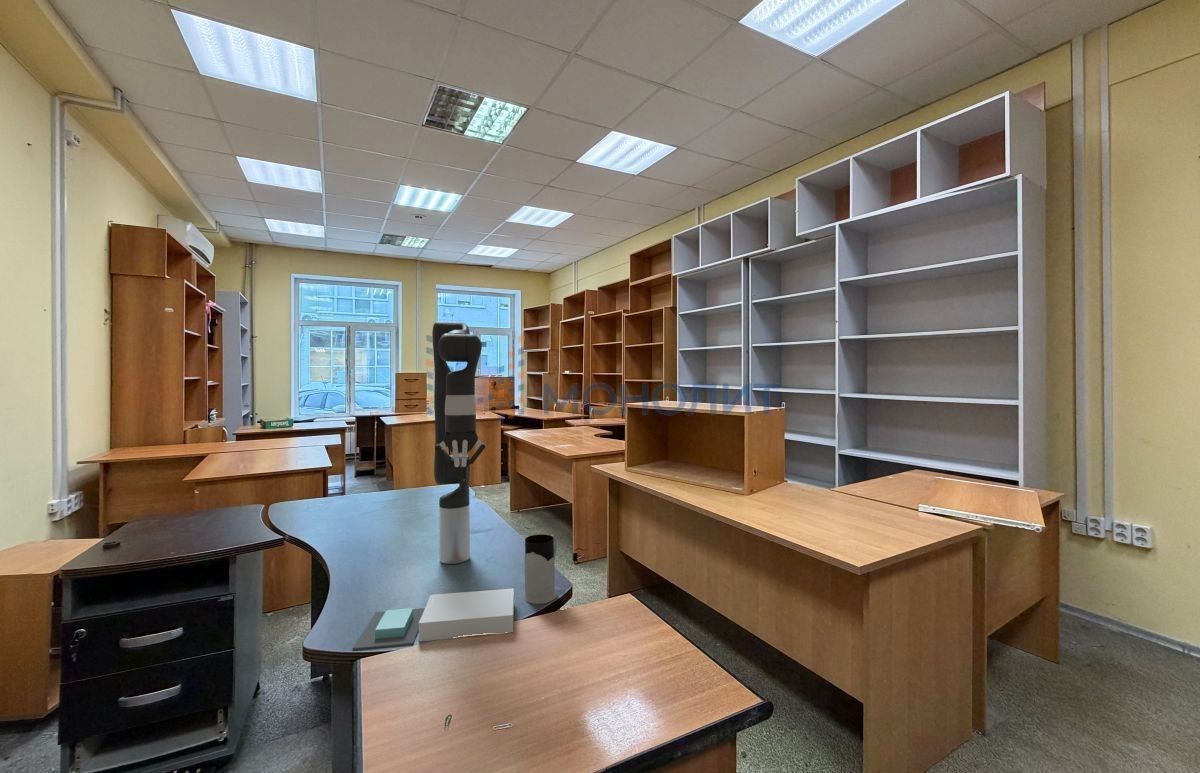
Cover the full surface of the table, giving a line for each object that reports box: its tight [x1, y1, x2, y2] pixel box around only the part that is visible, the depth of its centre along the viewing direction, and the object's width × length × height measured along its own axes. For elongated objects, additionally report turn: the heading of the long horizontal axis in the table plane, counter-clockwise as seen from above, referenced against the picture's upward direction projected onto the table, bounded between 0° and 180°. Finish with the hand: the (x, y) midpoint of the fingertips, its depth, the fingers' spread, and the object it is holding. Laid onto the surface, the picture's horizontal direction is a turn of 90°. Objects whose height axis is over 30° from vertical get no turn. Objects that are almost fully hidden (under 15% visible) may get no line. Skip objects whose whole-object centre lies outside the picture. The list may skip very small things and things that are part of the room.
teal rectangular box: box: [375, 607, 414, 639], centre depth 107 cm, size 9×6×2 cm, turn 10°
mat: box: [352, 607, 425, 651], centre depth 108 cm, size 16×12×1 cm
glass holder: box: [522, 533, 558, 605], centre depth 126 cm, size 9×14×15 cm, turn 160°
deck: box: [418, 588, 515, 642], centre depth 110 cm, size 14×20×4 cm
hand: (461, 481), depth 120 cm, fingers closed
